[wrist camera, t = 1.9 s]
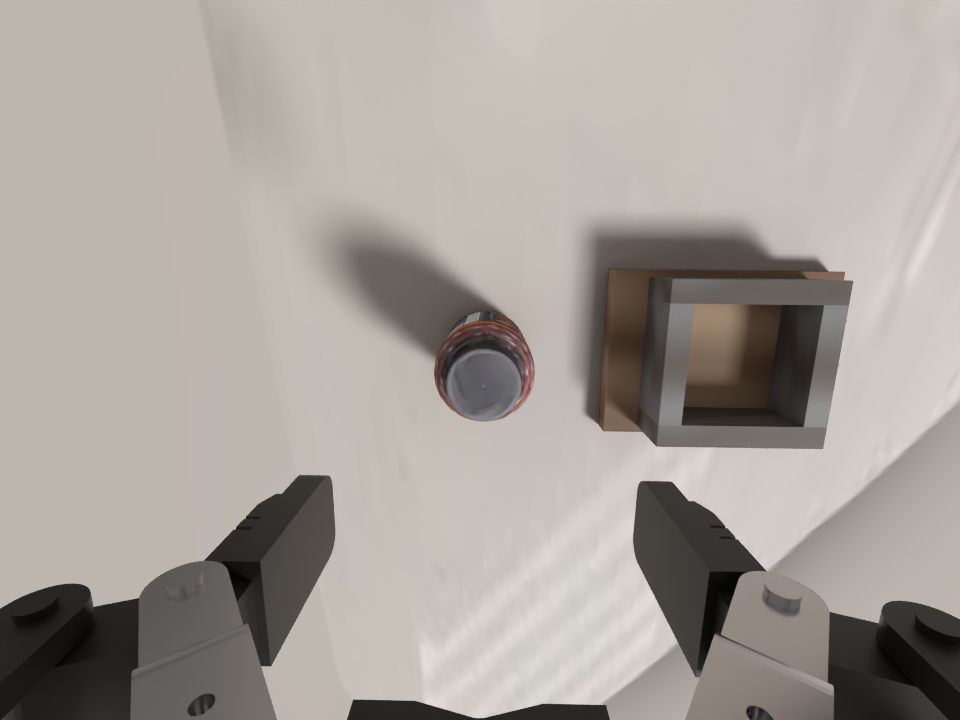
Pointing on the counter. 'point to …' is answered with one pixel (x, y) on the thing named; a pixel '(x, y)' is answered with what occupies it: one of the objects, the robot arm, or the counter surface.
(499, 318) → the supplement bottle
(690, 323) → the socket stand
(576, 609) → the counter surface
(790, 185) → the counter surface
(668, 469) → the counter surface
